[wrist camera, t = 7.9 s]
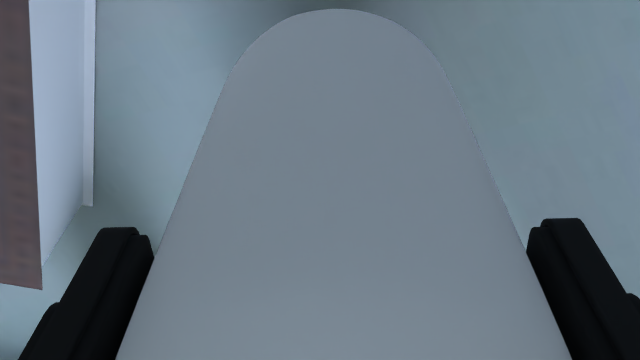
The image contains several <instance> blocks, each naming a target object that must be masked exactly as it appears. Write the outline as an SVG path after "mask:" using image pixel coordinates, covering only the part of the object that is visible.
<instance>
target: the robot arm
mask: <svg viewBox="0 0 640 360" xmlns="http://www.w3.org/2000/svg"><path fill="white" fill-rule="evenodd" d="M526 254H527V256H528V258H529V261H530V263H531V265H532V268H533V270H534V272H535V274H536V277H537V279H538V281H539V283H540V286H541V288H542V290H543V293H544V295H545V297H546V300H547V302H548V304H549V306H550V309H551V311H552V313H553V316H554V318H555V320H556V323H557V325H558V327H559V330H560V332H561V334H562V337H563V339H564V341H565V344H566V346H567V348H568V351H569V353H570V356H571V358H572V360H640V299H639V298H638V297H637V296H635V295H633V294H632V293H626V292H625V290H624V288H623V287H622V285H621V283H620V282H619V280H618V279H617V277H616V275H615V274H614V272H613V270H612V269H611V267H610V266H609V264H608V262H607V261H606V259H605V257H604V256H603V254H602V253H601V251H600V249H599V248H598V246H597V244H596V243H595V241H594V240H593V238H592V236H591V235H590V233H589V231H588V230H587V228H586V227H585V225H584V223H583V222H582V221H581V220H580V219H578V218H555V219H544V220H543V221H542V223H541V225H540V227H533V228H532V229H531V231H530V234H529V240H528V245H527V250H526ZM153 261H154V256H153V252H152V248H151V244H150V240H149V238H148V236H147V235H140V234H139V231H138V230H137V229H136V228H135V227H110V228H102V229H101V230H100V231H99V232H98V234H97V236H96V237H95V239H94V241H93V243H92V245H91V246H90V248H89V250H88V252H87V254H86V255H85V257H84V259H83V261H82V262H81V264H80V266H79V268H78V270H77V271H76V273H75V275H74V277H73V279H72V280H71V282H70V284H69V286H68V288H67V289H66V291H65V293H64V295H63V297H62V298H61V300H60V302H56V303H54V304H53V305H51V306H50V307H49V308H48V309H47V311H46V312H45V313H44V315H43V317H42V319H41V320H40V322H39V324H38V326H37V327H36V329H35V331H34V333H33V334H32V336H31V338H30V340H29V341H28V343H27V345H26V346H25V348H24V350H23V352H22V353H21V355H20V357H19V359H18V360H115V359H116V356H117V354H118V351H119V348H120V346H121V343H122V341H123V338H124V335H125V333H126V330H127V328H128V325H129V322H130V320H131V317H132V315H133V312H134V309H135V307H136V304H137V302H138V299H139V297H140V294H141V291H142V289H143V286H144V284H145V281H146V279H147V276H148V274H149V271H150V269H151V266H152V263H153Z"/></svg>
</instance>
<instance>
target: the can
mask: <svg viewBox="0 0 640 360" xmlns="http://www.w3.org/2000/svg"><path fill="white" fill-rule="evenodd" d="M115 360H572V358H571V356H570V353H569V351H568V348H567V346H566V344H565V341H564V339H563V337H562V334H561V332H560V330H559V327H558V325H557V323H556V320H555V318H554V316H553V313H552V311H551V309H550V306H549V304H548V302H547V300H546V297H545V295H544V293H543V290H542V288H541V286H540V283H539V281H538V279H537V277H536V274H535V272H534V270H533V268H532V265H531V263H530V261H529V258H528V256H527V254H526V252H525V249H524V247H523V245H522V242H521V240H520V238H519V236H518V233H517V231H516V229H515V226H514V224H513V222H512V220H511V217H510V215H509V213H508V211H507V208H506V206H505V204H504V202H503V199H502V197H501V195H500V193H499V190H498V188H497V186H496V184H495V181H494V179H493V177H492V175H491V172H490V170H489V168H488V166H487V163H486V161H485V159H484V157H483V154H482V152H481V150H480V148H479V145H478V143H477V141H476V139H475V136H474V134H473V132H472V130H471V128H470V125H469V123H468V121H467V119H466V116H465V114H464V112H463V110H462V108H461V105H460V103H459V101H458V99H457V97H456V94H455V92H454V90H453V88H452V86H451V84H450V82H449V80H448V78H447V76H446V74H445V72H444V70H443V68H442V66H441V65H440V63H439V61H438V60H437V59H436V57H435V56H434V54H433V53H432V52H431V51H430V49H429V48H428V47H427V46H426V45H425V44H424V43H423V42H422V41H421V40H420V39H419V38H418V37H416V36H415V35H414V34H413V33H411V32H410V31H409V30H407V29H406V28H404V27H402V26H401V25H399V24H397V23H395V22H393V21H391V20H389V19H387V18H384V17H382V16H379V15H376V14H372V13H368V12H364V11H359V10H351V9H324V10H316V11H310V12H305V13H301V14H297V15H294V16H292V17H289V18H287V19H285V20H283V21H281V22H279V23H277V24H276V25H274V26H273V27H271V28H270V29H268V30H267V31H266V32H264V33H263V34H262V35H261V36H260V37H258V38H257V39H256V40H255V41H254V42H253V43H252V44H251V45H250V46H249V48H248V49H247V50H246V51H245V52H244V53H243V54H242V56H241V57H240V58H239V60H238V61H237V63H236V64H235V66H234V67H233V69H232V70H231V72H230V74H229V76H228V78H227V80H226V82H225V84H224V87H223V89H222V92H221V94H220V96H219V99H218V101H217V103H216V106H215V108H214V111H213V113H212V116H211V118H210V121H209V123H208V126H207V128H206V130H205V133H204V135H203V138H202V140H201V143H200V145H199V148H198V150H197V153H196V155H195V158H194V160H193V163H192V165H191V168H190V170H189V173H188V175H187V178H186V180H185V183H184V185H183V188H182V190H181V193H180V195H179V198H178V200H177V203H176V205H175V208H174V210H173V213H172V215H171V218H170V220H169V223H168V225H167V228H166V230H165V233H164V236H163V238H162V241H161V243H160V246H159V248H158V251H157V253H156V256H155V258H154V261H153V263H152V266H151V269H150V271H149V274H148V276H147V279H146V281H145V284H144V286H143V289H142V291H141V294H140V297H139V299H138V302H137V304H136V307H135V309H134V312H133V315H132V317H131V320H130V322H129V325H128V328H127V330H126V333H125V335H124V338H123V341H122V343H121V346H120V348H119V351H118V354H117V356H116V359H115Z"/></svg>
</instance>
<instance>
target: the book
mask: <svg viewBox="0 0 640 360" xmlns="http://www.w3.org/2000/svg"><path fill="white" fill-rule="evenodd" d="M95 11H96V0H0V283H3V284H9V285H15V286H21V287H27V288H33V289H39V290H42V269H41V268H42V266H43V265H44V263H45V262H46V260H47V258H48V256H49V255H50V253H51V251H52V250H53V248H54V247H55V245H56V244H57V242H58V240H59V239H60V237H61V236H62V234H63V233H64V231H65V229H66V228H67V226H68V225H69V223H70V222H71V220H72V218H73V217H74V215H75V214H76V212H77V211H78V209H79V208H80V206H81V205H84V206H90V207H93V158H94V84H95Z"/></svg>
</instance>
